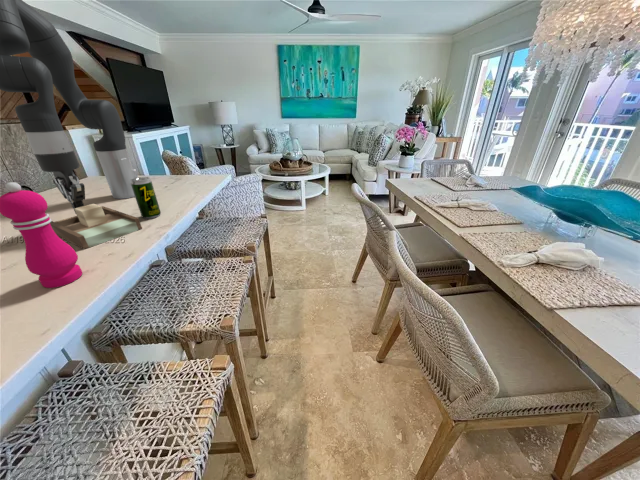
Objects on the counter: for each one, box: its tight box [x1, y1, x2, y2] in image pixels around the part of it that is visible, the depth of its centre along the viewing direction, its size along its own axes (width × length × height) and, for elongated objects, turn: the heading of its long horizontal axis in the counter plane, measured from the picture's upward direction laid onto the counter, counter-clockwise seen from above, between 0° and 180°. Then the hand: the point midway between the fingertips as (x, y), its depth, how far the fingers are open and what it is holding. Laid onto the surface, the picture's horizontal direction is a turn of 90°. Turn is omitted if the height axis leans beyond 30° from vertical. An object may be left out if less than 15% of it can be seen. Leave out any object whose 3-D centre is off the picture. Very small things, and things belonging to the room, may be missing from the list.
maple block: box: [73, 203, 107, 227], centre depth 72 cm, size 4×4×4 cm
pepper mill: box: [0, 181, 83, 289], centre depth 49 cm, size 7×7×20 cm
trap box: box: [50, 205, 143, 250], centre depth 74 cm, size 14×20×3 cm
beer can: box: [131, 176, 162, 220], centre depth 82 cm, size 5×5×12 cm
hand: (81, 214), depth 75 cm, fingers closed
